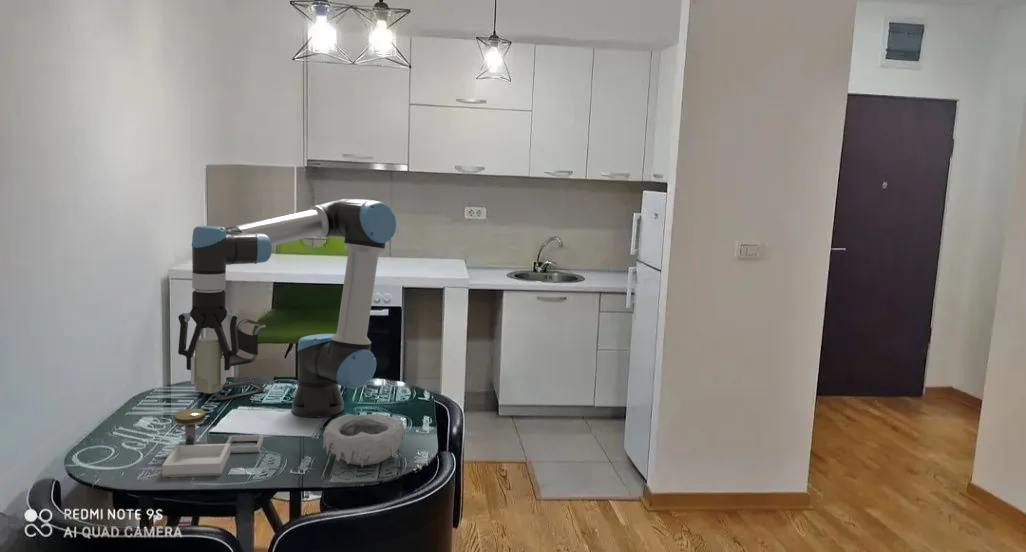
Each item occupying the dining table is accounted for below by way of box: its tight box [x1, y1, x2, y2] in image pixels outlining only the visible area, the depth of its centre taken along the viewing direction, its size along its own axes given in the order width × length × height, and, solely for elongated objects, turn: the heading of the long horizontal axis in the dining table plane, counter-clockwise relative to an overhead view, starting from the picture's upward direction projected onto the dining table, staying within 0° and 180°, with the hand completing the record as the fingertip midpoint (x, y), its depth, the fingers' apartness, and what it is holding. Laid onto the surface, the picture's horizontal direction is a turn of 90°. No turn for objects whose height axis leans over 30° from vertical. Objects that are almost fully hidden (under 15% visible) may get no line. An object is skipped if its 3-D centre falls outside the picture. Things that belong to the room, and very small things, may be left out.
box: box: [194, 337, 223, 394], centre depth 187 cm, size 5×4×13 cm
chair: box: [214, 318, 267, 401], centre depth 244 cm, size 13×17×22 cm
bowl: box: [322, 413, 405, 468], centre depth 194 cm, size 21×20×10 cm
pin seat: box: [225, 434, 264, 454], centre depth 200 cm, size 8×8×2 cm
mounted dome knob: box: [173, 408, 209, 445], centre depth 196 cm, size 7×7×10 cm
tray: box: [161, 443, 231, 478], centre depth 187 cm, size 13×13×3 cm
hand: (208, 382), depth 188 cm, fingers closed on box, 6 cm apart
